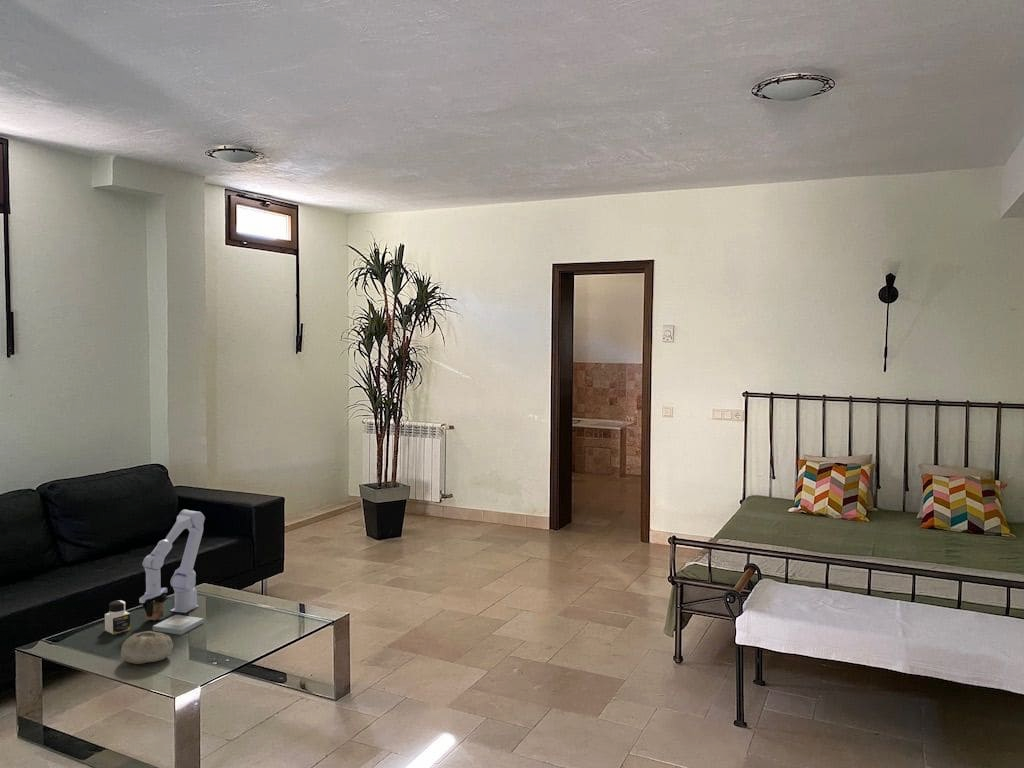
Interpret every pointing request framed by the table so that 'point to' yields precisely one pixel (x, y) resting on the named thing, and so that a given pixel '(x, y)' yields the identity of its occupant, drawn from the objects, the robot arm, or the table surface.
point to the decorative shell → (146, 647)
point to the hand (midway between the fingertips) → (154, 614)
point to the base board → (178, 624)
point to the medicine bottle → (117, 618)
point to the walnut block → (156, 611)
